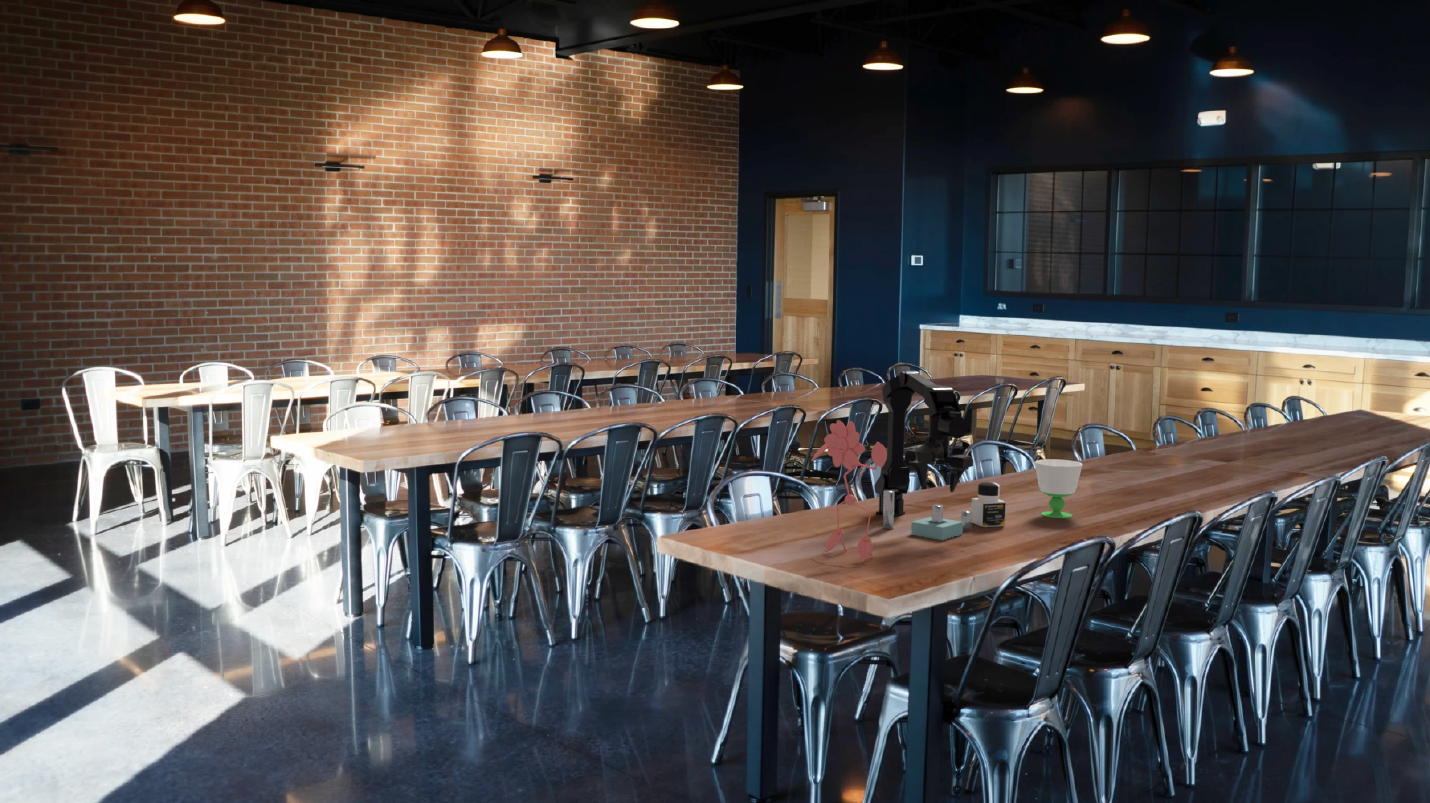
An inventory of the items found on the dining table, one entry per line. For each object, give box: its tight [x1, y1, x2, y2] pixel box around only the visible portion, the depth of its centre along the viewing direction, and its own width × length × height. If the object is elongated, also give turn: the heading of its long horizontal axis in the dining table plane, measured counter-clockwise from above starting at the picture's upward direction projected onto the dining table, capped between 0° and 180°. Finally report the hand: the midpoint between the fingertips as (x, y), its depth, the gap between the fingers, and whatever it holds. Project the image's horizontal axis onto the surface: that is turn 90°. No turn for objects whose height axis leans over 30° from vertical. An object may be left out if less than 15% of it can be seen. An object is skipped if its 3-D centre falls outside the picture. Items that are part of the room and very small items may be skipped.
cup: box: [1034, 458, 1083, 519], centre depth 344 cm, size 14×14×16 cm
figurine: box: [810, 419, 887, 569], centre depth 287 cm, size 15×26×35 cm, turn 40°
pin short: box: [960, 510, 973, 531], centre depth 324 cm, size 3×3×5 cm
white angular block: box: [970, 481, 1007, 528], centre depth 331 cm, size 7×7×12 cm
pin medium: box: [931, 504, 944, 524], centre depth 317 cm, size 3×3×8 cm
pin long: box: [882, 490, 895, 530], centre depth 324 cm, size 3×3×10 cm
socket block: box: [910, 516, 964, 541], centre depth 317 cm, size 10×10×4 cm
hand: (937, 489), depth 317 cm, fingers open, 9 cm apart
